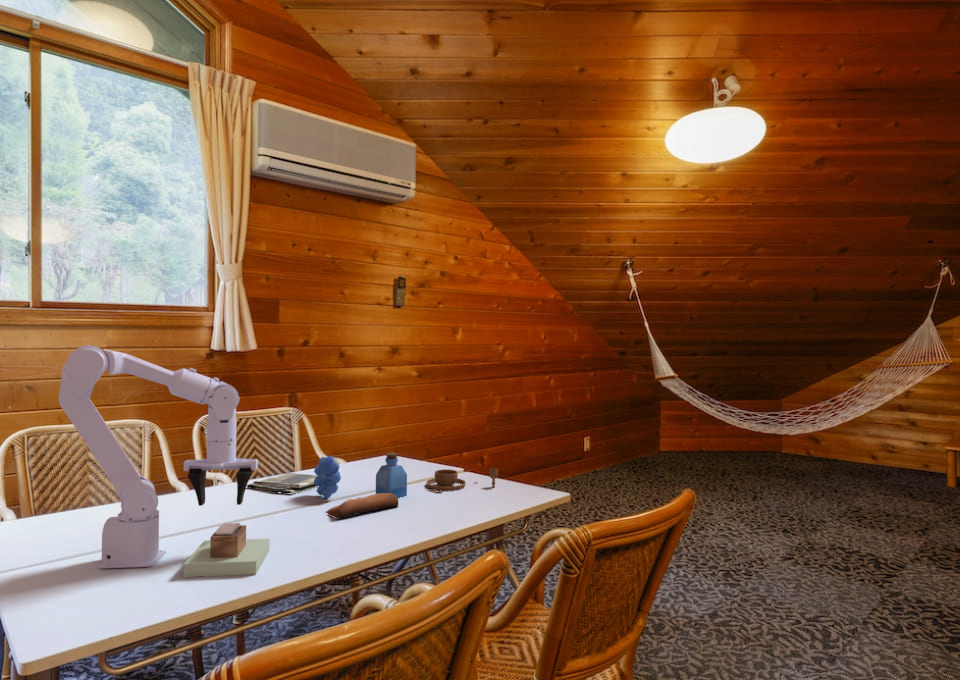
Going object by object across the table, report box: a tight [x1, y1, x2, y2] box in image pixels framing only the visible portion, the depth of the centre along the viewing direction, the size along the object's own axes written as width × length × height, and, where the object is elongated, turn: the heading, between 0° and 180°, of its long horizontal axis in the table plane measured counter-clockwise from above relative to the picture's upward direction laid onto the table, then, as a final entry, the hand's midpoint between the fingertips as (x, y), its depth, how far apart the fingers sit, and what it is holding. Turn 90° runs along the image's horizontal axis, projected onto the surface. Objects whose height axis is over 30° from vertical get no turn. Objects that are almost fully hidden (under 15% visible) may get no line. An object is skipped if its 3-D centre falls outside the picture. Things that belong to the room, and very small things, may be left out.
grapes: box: [313, 455, 342, 499], centre depth 171 cm, size 12×7×12 cm, turn 46°
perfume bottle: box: [375, 452, 408, 499], centre depth 174 cm, size 6×6×12 cm
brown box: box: [210, 524, 247, 558], centre depth 121 cm, size 5×7×4 cm
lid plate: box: [214, 522, 241, 536], centre depth 121 cm, size 3×5×2 cm, turn 6°
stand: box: [183, 538, 271, 578], centre depth 122 cm, size 13×13×2 cm
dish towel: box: [246, 472, 318, 496], centre depth 184 cm, size 19×18×3 cm
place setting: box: [425, 468, 499, 494], centre depth 185 cm, size 18×20×6 cm
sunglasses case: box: [325, 493, 399, 520], centre depth 159 cm, size 18×7×7 cm
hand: (220, 503), depth 130 cm, fingers open, 7 cm apart
